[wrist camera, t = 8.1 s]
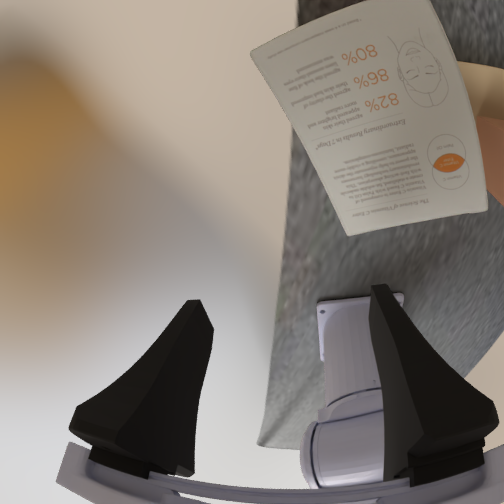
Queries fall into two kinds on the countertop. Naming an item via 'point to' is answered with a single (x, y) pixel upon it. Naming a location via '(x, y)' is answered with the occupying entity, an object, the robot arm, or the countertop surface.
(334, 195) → the small box
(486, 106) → the base slab
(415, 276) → the countertop surface
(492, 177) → the block
